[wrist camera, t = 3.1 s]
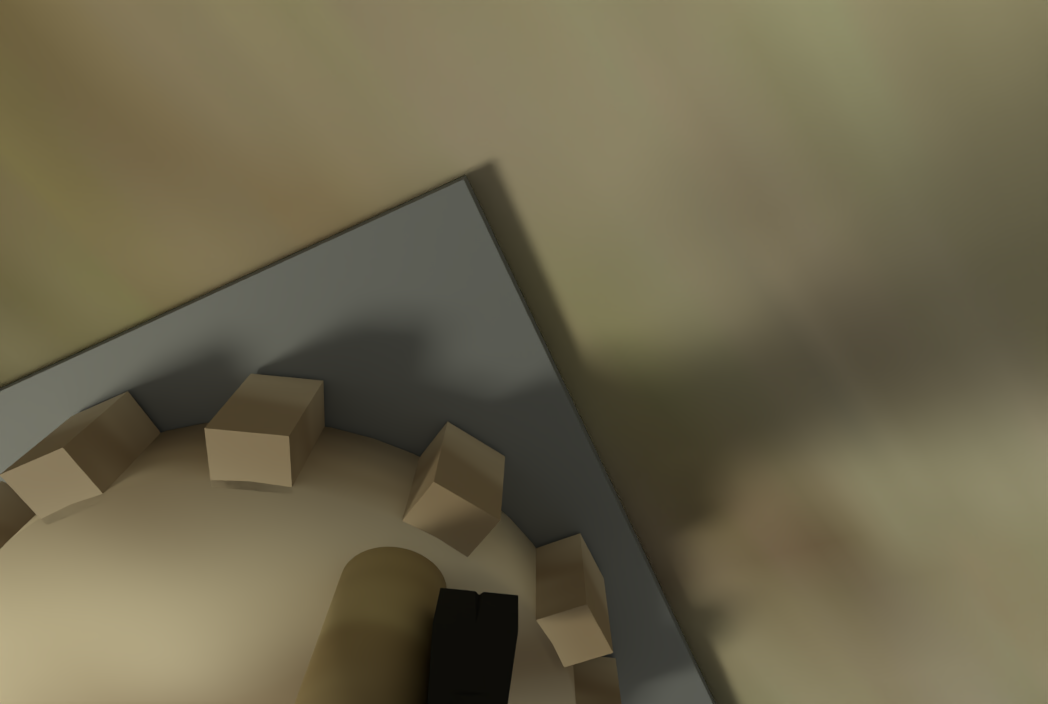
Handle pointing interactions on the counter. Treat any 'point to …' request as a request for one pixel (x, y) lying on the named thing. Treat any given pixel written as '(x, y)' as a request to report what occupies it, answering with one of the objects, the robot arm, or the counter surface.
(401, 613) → the sprocket
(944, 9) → the counter surface
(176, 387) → the index plate
